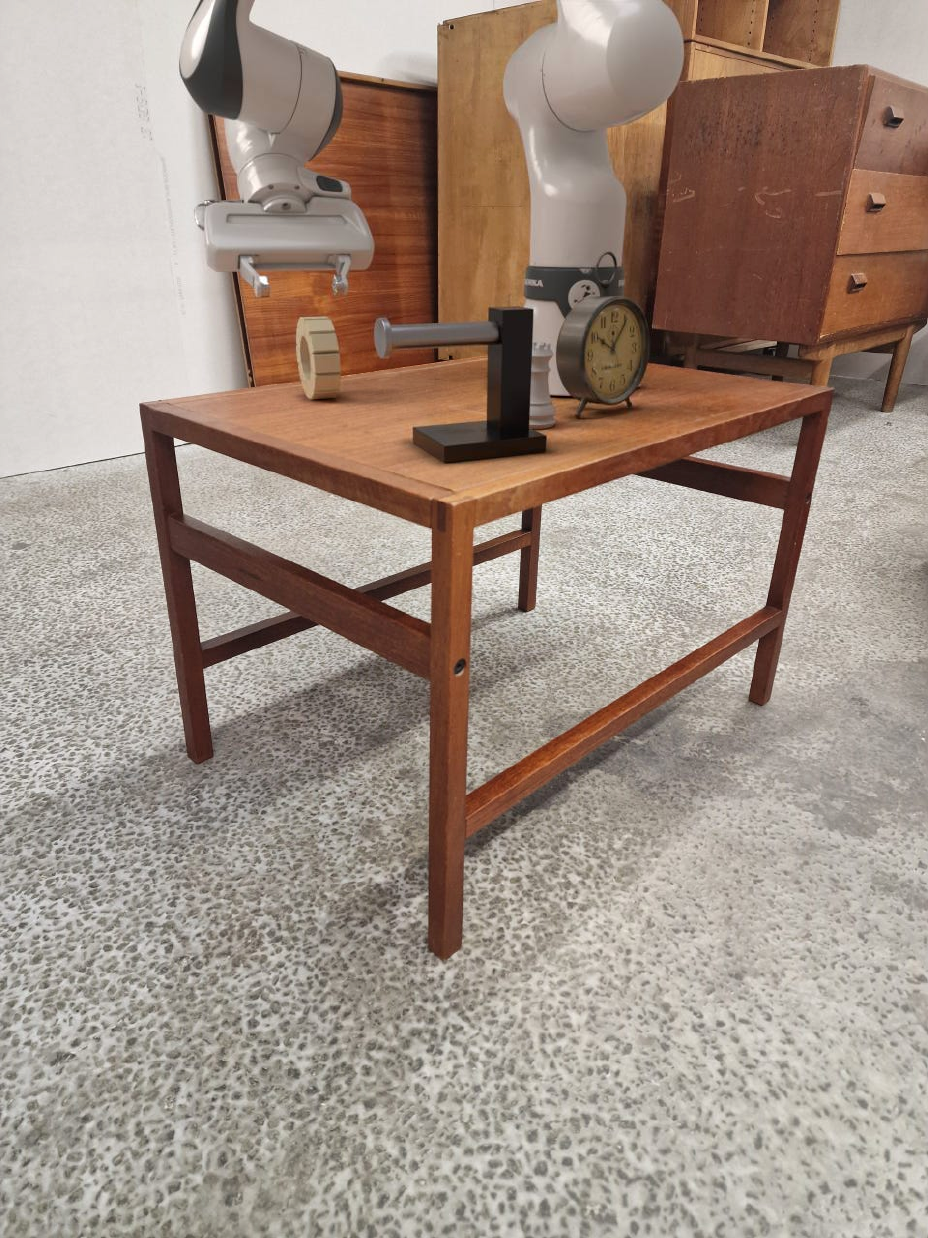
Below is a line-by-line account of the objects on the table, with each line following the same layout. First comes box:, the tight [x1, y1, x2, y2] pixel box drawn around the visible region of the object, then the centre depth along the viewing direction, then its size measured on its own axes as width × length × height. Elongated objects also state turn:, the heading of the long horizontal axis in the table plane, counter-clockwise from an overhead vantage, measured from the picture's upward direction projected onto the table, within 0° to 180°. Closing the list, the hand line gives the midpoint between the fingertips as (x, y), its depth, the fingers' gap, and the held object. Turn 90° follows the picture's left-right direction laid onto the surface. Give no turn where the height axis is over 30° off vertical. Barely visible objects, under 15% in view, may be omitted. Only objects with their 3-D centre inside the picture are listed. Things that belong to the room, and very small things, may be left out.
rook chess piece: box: [529, 342, 557, 430], centre depth 81 cm, size 4×4×8 cm
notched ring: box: [295, 315, 342, 401], centre depth 94 cm, size 9×3×9 cm, turn 23°
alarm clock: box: [556, 251, 651, 419], centre depth 85 cm, size 11×5×16 cm, turn 129°
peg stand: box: [373, 305, 548, 464], centre depth 71 cm, size 14×8×12 cm, turn 113°
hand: (303, 292), depth 95 cm, fingers open, 8 cm apart
